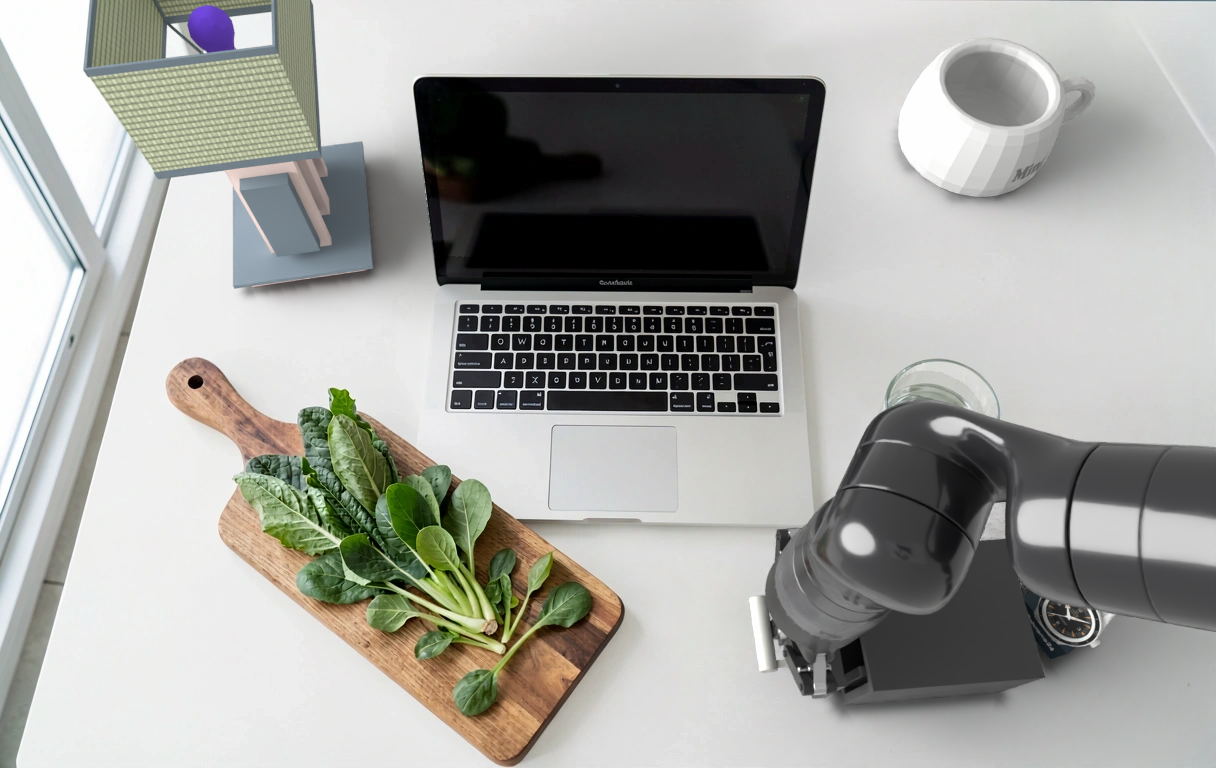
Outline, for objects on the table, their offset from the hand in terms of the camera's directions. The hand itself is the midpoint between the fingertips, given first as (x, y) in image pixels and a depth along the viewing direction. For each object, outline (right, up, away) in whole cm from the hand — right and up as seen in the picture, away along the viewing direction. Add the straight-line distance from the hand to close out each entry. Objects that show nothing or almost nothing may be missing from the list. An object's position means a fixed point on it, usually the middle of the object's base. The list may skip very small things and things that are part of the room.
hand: (783, 629), depth 75 cm
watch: (+25, -1, +6) cm, 25 cm away
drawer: (+6, -2, +4) cm, 7 cm away
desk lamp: (-48, +38, +23) cm, 65 cm away
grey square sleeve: (+12, -2, +5) cm, 13 cm away
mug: (+29, +48, +29) cm, 63 cm away
